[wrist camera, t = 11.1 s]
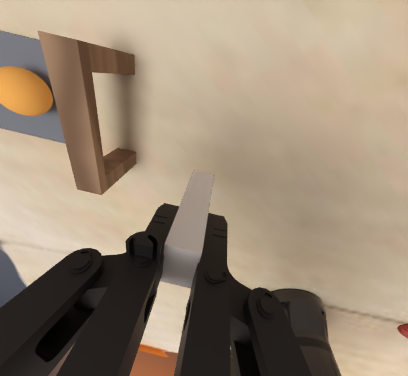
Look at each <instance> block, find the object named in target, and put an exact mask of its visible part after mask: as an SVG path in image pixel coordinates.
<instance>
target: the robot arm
mask: <svg viewBox="0 0 408 376" xmlns="http://www.w3.org/2000/svg"><path fill="white" fill-rule="evenodd" d="M213 180H214V175H212V174H208V173H204V172H200V171H195V170H194V171H193V173H192V176H191V178H190V181H189V183H188V186H187V188H186V191H185V194H184V196H183V199H182V201H181V204H180V206H174V205H170V204H166V203H164V204H163V205H161V206H160V207H159V208H158V209H157V211H156V213H155V214H154V216H153V218H152V220H151V222H150V223H149V225H148V227H147V229H146V231H143V232H138V233H135V234H133V235H131V236H130V237H129V238H128V239H127V240H126V253H123V254H118V255H105V256H101V253H100V252H99V251H98V250H96V249H92V248H84V249H80V250H77V251H74V252H73V253H71V254H69V255H68V256H66V257H65V258H64V259H62V260H61V261H60V262H59V263H57V264H56V265H55V266H53V267H52V268H51V269H50V270H48V271H47V272H46V273H45V274H43V275H42V276H41V277H39V278H38V279H37V280H36V281H34V282H33V283H32V284H30V285H29V286H28V287H27V288H25V289H24V290H23V291H22V292H20V293H19V294H18V295H16V296H15V297H14V298H13V299H11V300H10V301H9V302H7V303H6V304H5V305H4V306H2V307H1V308H0V376H48V375H49V374H50V373H51V371H52V370H53V369H54V368H55V367H56V365H57V364H58V363H59V362H60V360H61V359H62V358H63V357H64V355H65V354H66V353H67V352H68V350H69V349H70V348H71V347H72V345H73V344H74V343H75V342H76V343H75V344H74V346H73V348H72V350H71V351H70V353H69V355H68V356H67V358H66V360H65V361H64V363H63V365H62V367H61V368H60V370H59V372H58V374H57V375H56V376H129V375H130V372H131V369H132V366H133V363H134V360H135V357H136V354H137V351H138V348H139V345H140V342H141V339H142V336H143V333H144V330H145V327H146V324H147V321H148V318H149V315H150V312H151V310H152V307H153V304H154V301H155V298H156V294H157V288H158V285H159V282H160V279H161V281H162V282H166V283H170V284H175V285H179V286H183V287H187V288H191V292H190V297H189V300H188V303H187V307H186V315H185V320H184V325H183V331H182V336H181V341H180V347H179V352H178V357H177V363H176V368H175V373H174V376H341V373H340V371H339V368H338V365H337V363H336V360H335V358H334V355H333V352H332V350H331V347H330V344H329V341H328V331H327V321H326V312H325V309H324V307H323V304H322V302H321V300H320V299H319V298H318V297H317V296H316V295H314V294H312V293H309V292H306V291H302V290H294V289H286V290H278V291H274V292H271V291H269V290H267V289H265V288H260V287H259V288H255V289H253V290H251V289H249V288H248V287H246V286H244V285H242V284H241V283H239V282H238V281H237V280H235V279H234V278H233V276H232V275H231V274H230V272H229V270H228V267H227V222H226V220H225V218H224V217H223V216H219V215H215V214H211V213H208V212H209V205H210V199H211V193H212V186H213ZM230 345H231V350H230Z"/></svg>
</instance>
